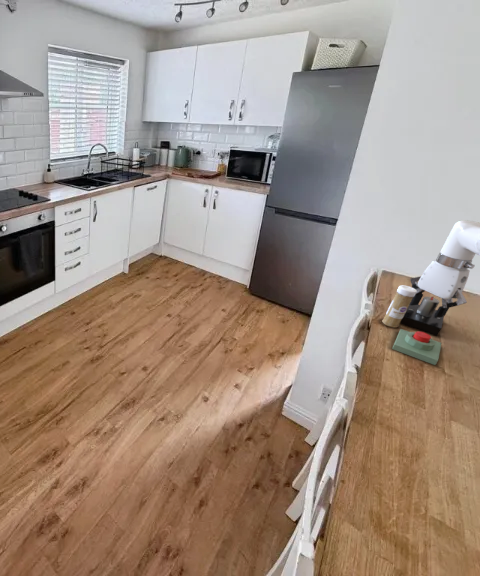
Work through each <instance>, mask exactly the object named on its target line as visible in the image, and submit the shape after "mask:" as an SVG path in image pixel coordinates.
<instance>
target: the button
mask: <svg viewBox="0 0 480 576" xmlns="http://www.w3.org/2000/svg"><path fill="white" fill-rule="evenodd" d="M414 332H415V334H414V336H413V338H414V339H416V340H417V341H420V342H423V343H428V342H429V340H430V339H432V335H431V334H429V333H426V332H423V331H420V330H417V331H414Z"/></svg>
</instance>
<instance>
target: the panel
mask: <svg viewBox="0 0 480 576" xmlns="http://www.w3.org/2000/svg"><path fill="white" fill-rule="evenodd" d="M410 303H411V302H410ZM419 306H420V303H419V304H418V305H410V304H409V306H408V308H407V311H406V313H405V314H404V316H403V318H402V320H401V322H400V323H399V325H402V326H406V327H408V328H411V329H413V330H417V331H420V332H424V333H426V334H428V335H430V336H435V337H438V335H439V333H440V332H441V330H442V327H443V324H444V323H443V322H444V318H445V316H443V317H439V318H435V317H434V315H435V313H436V312H437V310H438V309H435V311H434V313H433V315H432V316H431V317H425V316H422V315H420V314H418V313H417V312H416V311H417V309H418V307H419Z"/></svg>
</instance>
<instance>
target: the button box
mask: <svg viewBox="0 0 480 576" xmlns="http://www.w3.org/2000/svg"><path fill="white" fill-rule="evenodd" d="M415 332H416V331H408V330H406V329H402V328H400V329H399V332H398V333H397V336H396V339H395V341H394V343H393V345H392V350H394V351H397V352H399V353H402V354H405V355H407V356H410V357H413V358H415V359H417V360H420V361H423V362H424V363H425V362H426V363H428V364H431V365H434V366H436V365H437V363H438V361H439V358H440V352H441V349H442V342H440V341H437V340H434V339H433V338H431V339H430V340H429V342H428V343H423V342H420V341H417V340H416V339H414V338H413V336H414V334H415Z"/></svg>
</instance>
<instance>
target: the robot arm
mask: <svg viewBox="0 0 480 576" xmlns="http://www.w3.org/2000/svg"><path fill="white" fill-rule="evenodd" d="M476 255H478V256H480V221H475V220H468V219H461V220H459V221H456V222H455V223H454V225H453V227H452V228H451V230H450V231H449V234H448V236H447V238H446V240H445V242H444V243H443V246H442V247H441V250H440V251H439V253H438V255H437V257H436V259H434V260H432V261H431V262H430V263H429V265H428V266H427V267H426V268H425V270H424V271H423V272H422V274H421V275H420V276H417V277H416V276H415V277H411V278H410V279H409V281H410V284H411V287H412V288H414V289H416V290H417V292H416V294H415V296H414V297H413V298H412V300H411V303H410V305H418V304H419V305H420V303H421V301H422V300H423V298H424V294H423V293H424V292H427V293H429V294H431V295H433V296H436V297H438V298H439V299H441V305H440V306H438V307H437V309H436V310H437V312H436V313H435V315H434V317H435V318H439V317H443V316H444V317H445V316H446V314H447V313H448V311H449V310H450V308H453V307H458V306H461V305H465V304H467V299H466V297H465V296H464V294H463V291H464V289H465V287H466V285H467V282H468V279H469V275H470V270H473V269H475V264H473V259H474V257H475V256H476ZM453 299H457V300H456V301H453Z"/></svg>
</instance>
